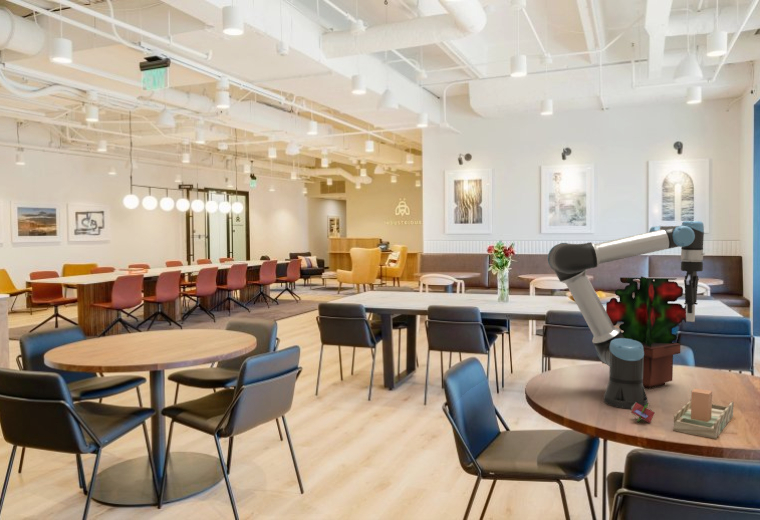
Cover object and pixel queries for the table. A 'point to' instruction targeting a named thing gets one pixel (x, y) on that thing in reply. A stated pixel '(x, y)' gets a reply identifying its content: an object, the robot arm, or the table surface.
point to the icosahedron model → (642, 412)
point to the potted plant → (650, 323)
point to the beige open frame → (703, 428)
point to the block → (701, 404)
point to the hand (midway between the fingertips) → (690, 321)
